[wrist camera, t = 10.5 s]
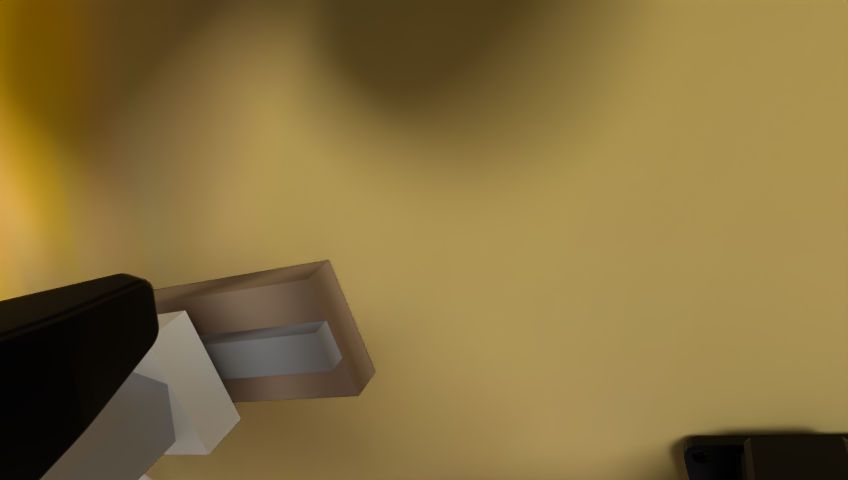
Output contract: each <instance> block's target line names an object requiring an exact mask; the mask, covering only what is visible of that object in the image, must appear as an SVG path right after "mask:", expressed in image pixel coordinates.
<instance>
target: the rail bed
mask: <svg viewBox="0 0 848 480" xmlns="http://www.w3.org/2000/svg"><path fill="white" fill-rule="evenodd" d="M154 295H155V302H156V308H157V315H158V314H165V313H171V312H178V311H186V313H187V315H188V317H189V318H190V320H191V322H192V324H193V326H194V328H195V330H196V332H197V334H198V336H199V338H200V340H201V342H202V344H203V346H204V348H205V350H206V352H207V354H208V356H209V357H210V359H211V361H212V363H213V365H214V367H215V369H216V371H217V373H218V375H219V377H220V379H221V381H222V383H223V385H224V387H225V389H226V391H227V393H228V395H229V396H230V398H231V400H232V402H251V401H270V400H290V399H309V398H328V397H348V396H359V395H360V393H361V392H362V391H363V389H364V388H365V386H366V385H367V383H368V382H369V380H370V379H371V378H372V376H373V375H374V373H375V370H374V367H373V365H372V363H371V360H370V358H369V355H368V353H367V350H366V348H365V346H364V343H363V341H362V338H361V336H360V334H359V331H358V329H357V326H356V324H355V322H354V319H353V317H352V314H351V312H350V309H349V307H348V305H347V302H346V300H345V297H344V295H343V293H342V290H341V288H340V285H339V283H338V281H337V278H336V276H335V273H334V271H333V269H332V266H331V264H330V261H329V260H325V261H320V262H314V263H308V264H302V265H296V266H291V267H285V268H279V269H273V270H267V271H262V272H256V273H250V274H244V275H238V276H233V277H227V278H221V279H215V280H209V281H204V282H198V283H192V284H186V285H180V286H175V287H169V288H163V289H157V290H154Z"/></svg>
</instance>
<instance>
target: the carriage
mask: <svg viewBox="0 0 848 480" xmlns="http://www.w3.org/2000/svg"><path fill="white" fill-rule="evenodd" d="M158 322H159V333H158V337H157V339H156V341H155V343H154V345H153V346H152V348H151V349H150V350H149V351H148V353H147V354H146V355H145V356H144V358H143V359H142V360H141V362H140V363H139V364H138V365H137V367H136V368H135V369H134V371H133V372H132V373H131V374H130V376H129V377H128V378H127V379H126V381H125V382H124V383H123V385H122V386H121V387H120V388H119V390H118V391H117V392H116V394H115V395H114V396H113V397H112V399H111V400H110V401H109V402H108V404H107V405H106V406H105V408H104V409H103V410H102V411H101V413H100V414H99V415H98V416H97V418H96V419H95V420H94V421H93V423H92V424H91V425H90V426H89V427H88V429H87V430H86V431H85V432H84V433H83V434H82V435H81V437H80V438H79V439H78V440H77V441H76V442H75V443H74V444H73V445H72V446H71V447H70V449H69V450H68V451H67V452H66V453H65V454H64V455H63V456H62V457H61V458H60V459H59V460H58V461H57V462H56V463H55V464H54V466H53V467H52V468H51V469H50V470H49V471H48V472H47V473H46V474H45V475H44V476H43V477H42V478H41V479H40V480H138V479H139V478H140V477H141V476H142V475H143V474H144V473H145V472H146V471H147V470H148V469H149V468H150V467H151V466H152V465H153V464H154V463H155V462H156V461H157V460H158V459H159V458H160V457H161V456H162V455H209V454H210V453H211V452H212V451H213V450H214V448H215V447H216V446H217V445H218V444H219V443H220V442H221V441H222V440H223V438H224V437H225V436H226V435H227V434H228V433H229V432H230V431H231V430H232V428H233V427H234V426H235V425H236V424H237V423H238V422H239V421H240V420H241V418H240V416H239V414H238V412H237V410H236V408H235V406H234V404H233V402H232V400H231V398H230V396H229V395H228V393H227V391H226V389H225V387H224V385H223V383H222V381H221V379H220V377H219V375H218V373H217V371H216V369H215V367H214V365H213V363H212V361H211V359H210V357H209V356H208V354H207V352H206V350H205V348H204V346H203V344H202V342H201V340H200V338H199V336H198V334H197V332H196V330H195V328H194V326H193V324H192V322H191V320H190V318H189V317H188V315H187V313H186V311H178V312H171V313H165V314H158Z"/></svg>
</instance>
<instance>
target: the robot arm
mask: <svg viewBox="0 0 848 480" xmlns="http://www.w3.org/2000/svg"><path fill="white" fill-rule="evenodd" d="M158 333H159V322H158V315H157V308H156V302H155V295H154V289H153V287H152V285H151V283H150V282H148V281H147V280H145V279H142V278H139V277H136V276H133V275H130V274H116V275H111V276H107V277H103V278H98V279H94V280H90V281H85V282H81V283H77V284H72V285H68V286H64V287H60V288H55V289H51V290H47V291H42V292H38V293H34V294H29V295H25V296H21V297H16V298H12V299H8V300H3V301H0V480H40V479H41V478H42V477H43V476H44V475H45V474H46V473H47V472H48V471H49V470H50V469H51V468H52V467H53V466H54V464H55V463H56V462H57V461H58V460H59V459H60V458H61V457H62V456H63V455H64V454H65V453H66V452H67V451H68V450H69V449H70V447H71V446H72V445H73V444H74V443H75V442H76V441H77V440H78V439H79V438H80V437H81V435H82V434H83V433H84V432H85V431H86V430H87V429H88V427H89V426H90V425H91V424H92V423H93V421H94V420H95V419H96V418H97V416H98V415H99V414H100V413H101V411H102V410H103V409H104V408H105V406H106V405H107V404H108V402H109V401H110V400H111V399H112V397H113V396H114V395H115V394H116V392H117V391H118V390H119V388H120V387H121V386H122V385H123V383H124V382H125V381H126V379H127V378H128V377H129V376H130V374H131V373H132V372H133V371H134V369H135V368H136V367H137V365H138V364H139V363H140V362H141V360H142V359H143V358H144V356H145V355H146V354H147V353H148V351H149V350H150V349H151V348H152V346H153V345H154V343H155V341H156V339H157V337H158ZM698 451H701V452H704V453H706V454H704V455H699V454H696V453H695V452H698ZM684 459H685V463H686V467H687V472H688V476H689V480H848V435H801V436H723V437H694V438H690V439H689V440H687V441H686V443H685V444H684Z"/></svg>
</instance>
